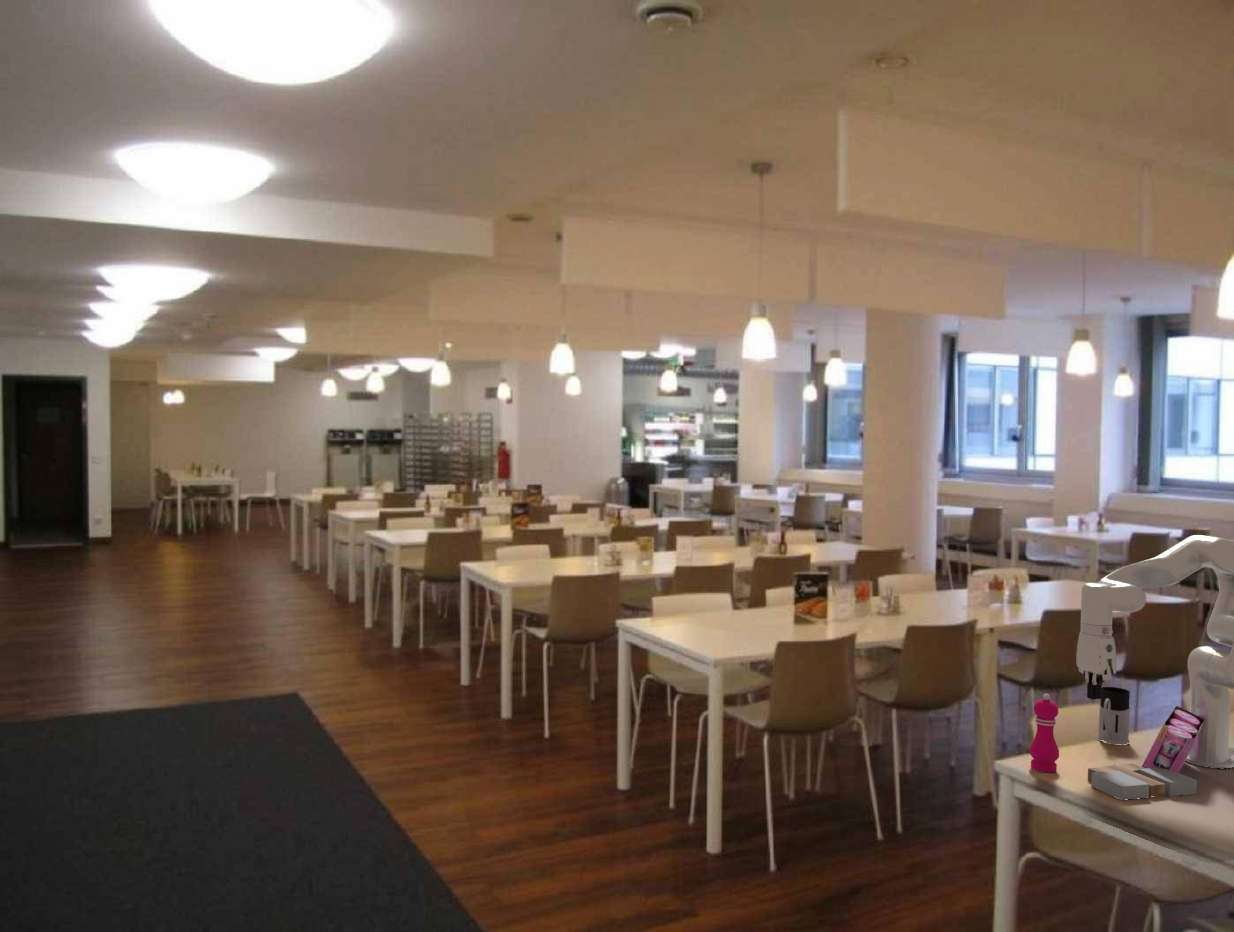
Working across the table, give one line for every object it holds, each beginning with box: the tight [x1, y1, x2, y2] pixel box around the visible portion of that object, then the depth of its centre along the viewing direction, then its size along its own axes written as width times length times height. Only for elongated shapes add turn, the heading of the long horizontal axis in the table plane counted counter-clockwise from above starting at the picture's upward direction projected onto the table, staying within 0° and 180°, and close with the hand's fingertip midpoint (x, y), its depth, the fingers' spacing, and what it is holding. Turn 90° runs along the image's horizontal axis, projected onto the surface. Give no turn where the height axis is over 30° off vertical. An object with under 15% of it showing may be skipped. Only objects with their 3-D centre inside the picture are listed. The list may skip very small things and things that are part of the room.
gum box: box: [1141, 705, 1205, 773], centre depth 260 cm, size 24×8×14 cm, turn 143°
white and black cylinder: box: [1096, 686, 1131, 744], centre depth 285 cm, size 9×14×15 cm, turn 138°
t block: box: [1087, 763, 1166, 797], centre depth 248 cm, size 15×14×3 cm
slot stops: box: [1090, 768, 1198, 801], centre depth 246 cm, size 22×10×4 cm, turn 106°
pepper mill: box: [1029, 693, 1060, 773], centre depth 260 cm, size 7×7×20 cm
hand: (1094, 698), depth 263 cm, fingers closed
